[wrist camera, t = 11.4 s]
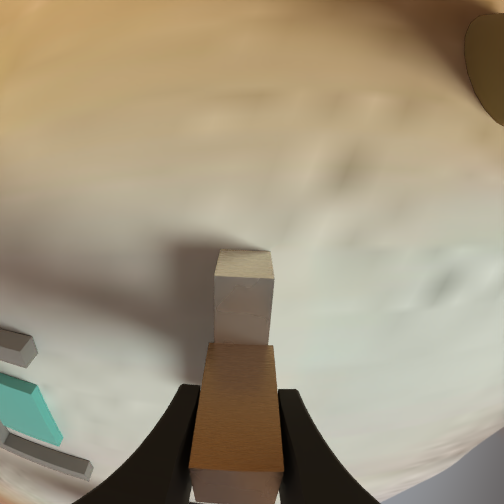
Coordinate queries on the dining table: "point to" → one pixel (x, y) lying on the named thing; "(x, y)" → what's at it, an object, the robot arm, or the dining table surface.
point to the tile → (26, 410)
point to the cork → (487, 62)
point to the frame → (21, 354)
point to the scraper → (239, 390)
